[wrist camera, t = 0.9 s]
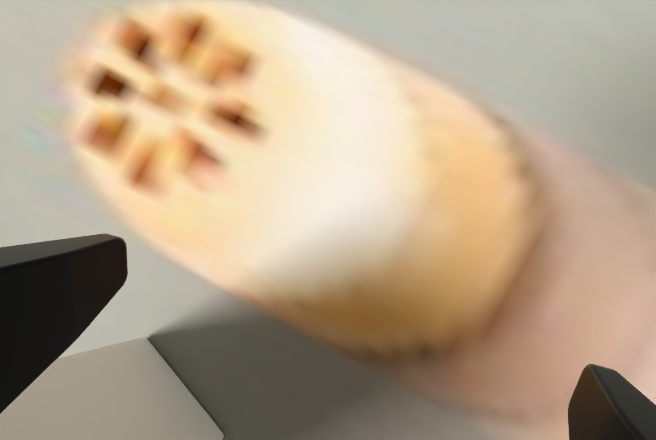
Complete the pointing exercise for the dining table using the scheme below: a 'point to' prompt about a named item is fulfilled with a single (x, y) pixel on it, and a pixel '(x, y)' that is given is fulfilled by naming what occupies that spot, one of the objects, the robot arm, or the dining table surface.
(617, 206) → the dining table surface
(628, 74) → the dining table surface
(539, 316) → the dining table surface
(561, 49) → the dining table surface
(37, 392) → the milk carton
